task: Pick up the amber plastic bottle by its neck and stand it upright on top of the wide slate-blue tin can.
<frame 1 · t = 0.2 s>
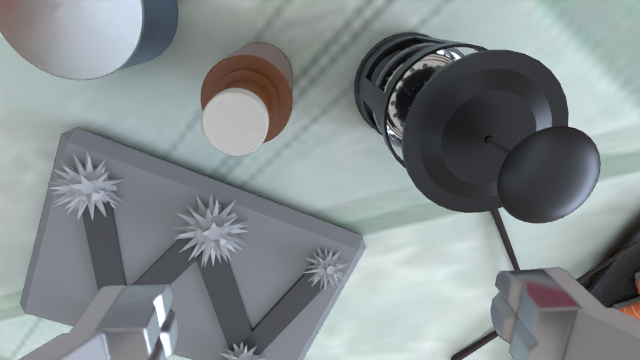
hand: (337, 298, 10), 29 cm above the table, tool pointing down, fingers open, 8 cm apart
sushi plate: (562, 293, 48), on the table
decorative plate: (197, 266, 43), on the table
french press: (409, 86, 38), on the table
bottle: (260, 75, 36), on the table
tin can: (122, 7, 34), on the table
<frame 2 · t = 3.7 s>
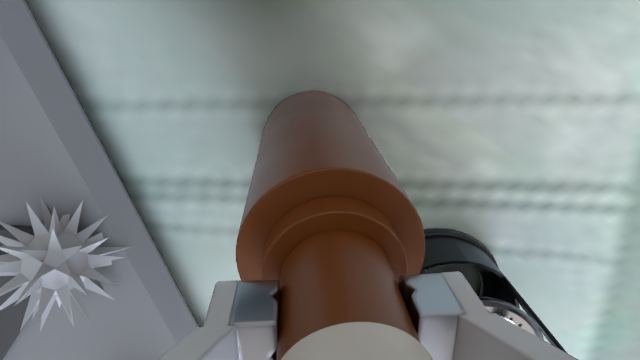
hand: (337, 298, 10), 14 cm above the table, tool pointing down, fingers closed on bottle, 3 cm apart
french press: (431, 292, 28), on the table
bottle: (312, 140, 23), on the table, touching gripper
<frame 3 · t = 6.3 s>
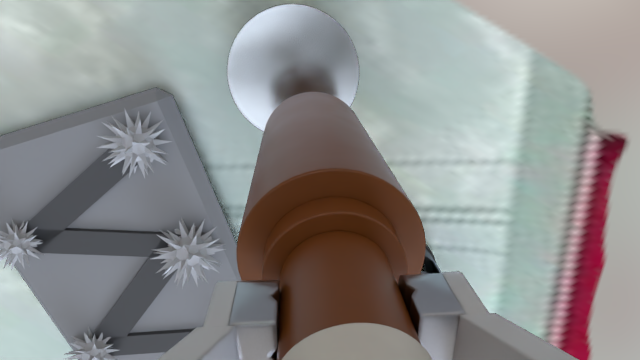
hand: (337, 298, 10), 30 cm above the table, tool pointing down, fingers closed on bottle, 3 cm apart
decorative plate: (134, 250, 43), on the table
bottle: (313, 141, 23), point 16 cm above the table, touching gripper
tin can: (292, 62, 37), on the table
when the fingers open (23 cm above the table, at t = 8.9 s): bottle stays where it is, resting on tin can.
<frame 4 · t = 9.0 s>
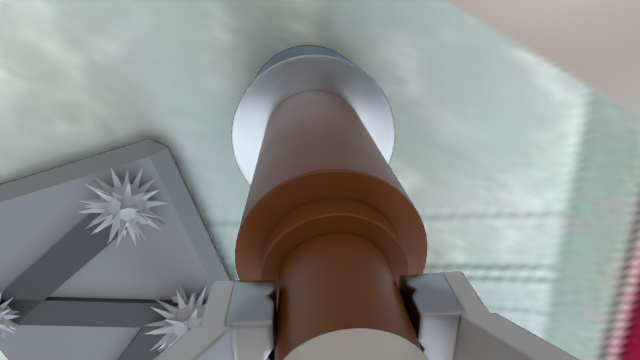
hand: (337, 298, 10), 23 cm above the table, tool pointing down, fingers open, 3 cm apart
decorative plate: (127, 314, 38), on the table
bottle: (314, 140, 23), point 9 cm above the table, touching tin can
tin can: (308, 106, 31), on the table, touching bottle
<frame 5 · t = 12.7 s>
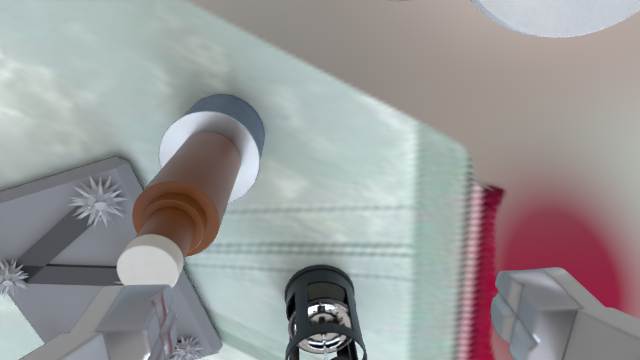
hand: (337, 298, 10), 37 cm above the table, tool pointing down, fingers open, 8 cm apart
decorative plate: (104, 279, 53), on the table
french press: (321, 295, 56), on the table
bottle: (210, 160, 38), point 9 cm above the table, touching tin can
tin can: (224, 134, 46), on the table, touching bottle
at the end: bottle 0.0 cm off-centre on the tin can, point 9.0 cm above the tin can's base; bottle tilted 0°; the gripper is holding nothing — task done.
